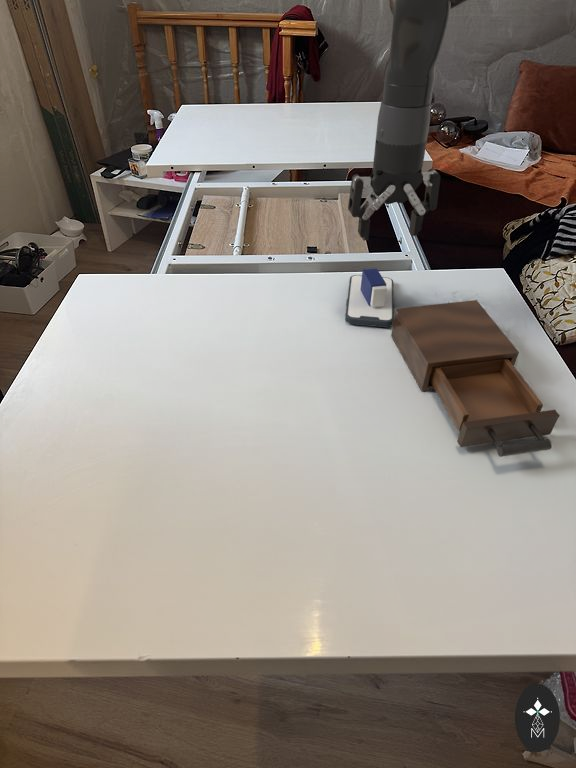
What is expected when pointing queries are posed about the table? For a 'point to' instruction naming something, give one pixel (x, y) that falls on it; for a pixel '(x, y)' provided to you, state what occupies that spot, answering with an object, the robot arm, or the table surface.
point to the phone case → (362, 311)
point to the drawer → (493, 406)
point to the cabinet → (447, 337)
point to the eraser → (373, 287)
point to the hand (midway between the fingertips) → (388, 236)
